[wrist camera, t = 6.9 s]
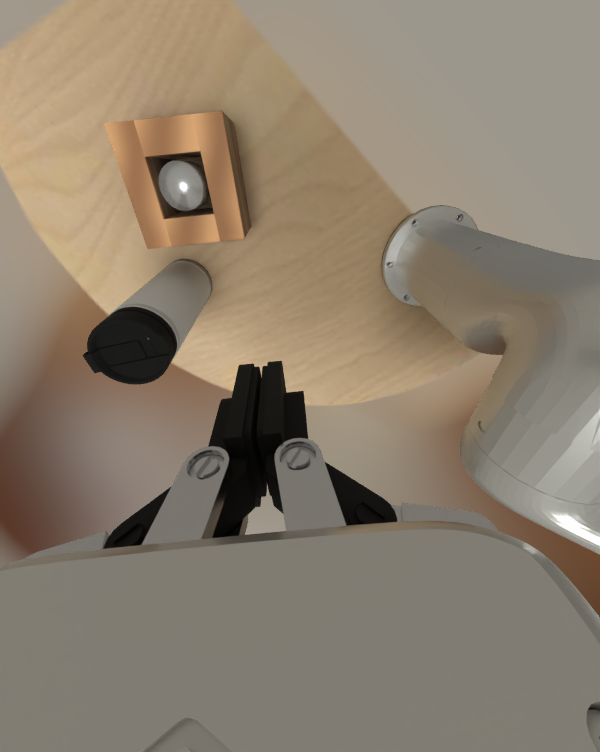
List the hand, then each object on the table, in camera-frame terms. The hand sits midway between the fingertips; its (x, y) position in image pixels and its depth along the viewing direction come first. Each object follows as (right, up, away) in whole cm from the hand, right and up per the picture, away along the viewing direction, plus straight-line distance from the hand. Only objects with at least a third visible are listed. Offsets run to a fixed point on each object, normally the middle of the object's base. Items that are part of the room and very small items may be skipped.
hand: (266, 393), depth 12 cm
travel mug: (-14, +13, +29) cm, 35 cm away
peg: (-10, +23, +23) cm, 34 cm away
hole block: (-10, +23, +23) cm, 34 cm away
